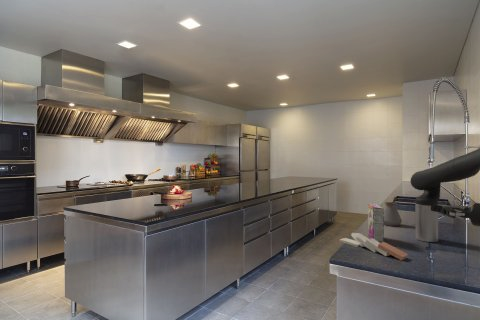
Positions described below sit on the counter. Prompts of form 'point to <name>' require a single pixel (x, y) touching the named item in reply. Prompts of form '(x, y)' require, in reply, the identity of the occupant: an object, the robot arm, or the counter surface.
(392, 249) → the domino
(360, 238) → the domino
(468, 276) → the counter surface
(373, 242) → the domino
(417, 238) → the robot arm
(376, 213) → the candy bar box
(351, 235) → the domino
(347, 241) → the domino
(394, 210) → the coffee pot
